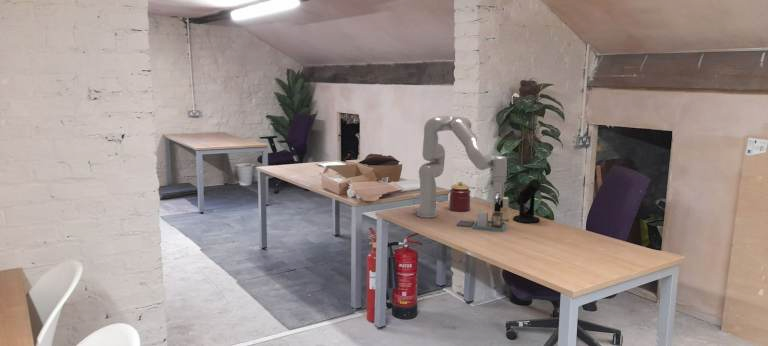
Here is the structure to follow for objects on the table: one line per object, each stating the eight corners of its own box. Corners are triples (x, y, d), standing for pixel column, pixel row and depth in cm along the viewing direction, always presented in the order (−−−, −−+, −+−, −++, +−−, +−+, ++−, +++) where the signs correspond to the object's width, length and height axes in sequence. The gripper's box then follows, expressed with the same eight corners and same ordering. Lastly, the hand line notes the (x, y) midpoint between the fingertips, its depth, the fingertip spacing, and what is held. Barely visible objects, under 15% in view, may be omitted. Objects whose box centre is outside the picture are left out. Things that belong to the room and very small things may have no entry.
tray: (472, 228, 302) (472, 225, 302) (476, 222, 316) (476, 219, 316) (503, 231, 297) (503, 228, 297) (506, 224, 311) (506, 222, 310)
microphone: (525, 225, 310) (528, 181, 305) (506, 218, 325) (508, 176, 321) (546, 222, 316) (549, 179, 311) (527, 215, 331) (529, 174, 327)
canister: (472, 208, 349) (473, 180, 346) (466, 212, 337) (467, 184, 334) (452, 206, 354) (453, 179, 351) (446, 210, 343) (447, 182, 340)
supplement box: (506, 218, 324) (507, 196, 322) (507, 220, 319) (508, 198, 317) (492, 218, 325) (493, 196, 323) (493, 220, 320) (494, 198, 318)
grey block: (477, 226, 306) (477, 212, 305) (478, 224, 311) (479, 210, 310) (486, 227, 305) (486, 213, 303) (487, 225, 309) (488, 211, 308)
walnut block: (491, 228, 304) (492, 214, 302) (492, 225, 308) (493, 211, 307) (500, 229, 302) (501, 214, 301) (502, 226, 307) (502, 212, 305)
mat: (456, 225, 307) (456, 224, 307) (460, 221, 317) (460, 220, 317) (470, 227, 305) (470, 225, 305) (474, 222, 314) (474, 221, 314)
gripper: (494, 175, 310) (493, 205, 312) (490, 181, 294) (489, 212, 296) (508, 176, 307) (507, 206, 310) (504, 181, 291) (503, 213, 294)
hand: (498, 209), depth 303 cm, fingers open, 9 cm apart
